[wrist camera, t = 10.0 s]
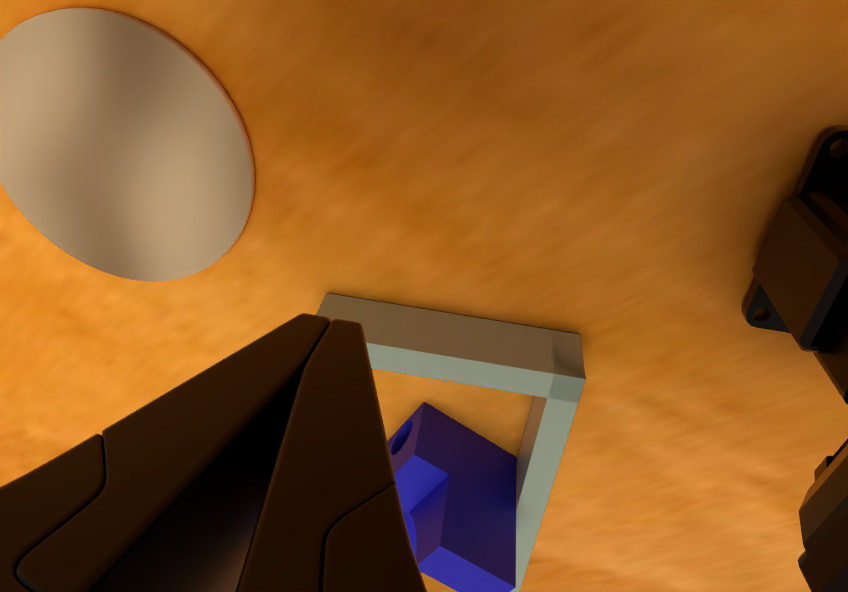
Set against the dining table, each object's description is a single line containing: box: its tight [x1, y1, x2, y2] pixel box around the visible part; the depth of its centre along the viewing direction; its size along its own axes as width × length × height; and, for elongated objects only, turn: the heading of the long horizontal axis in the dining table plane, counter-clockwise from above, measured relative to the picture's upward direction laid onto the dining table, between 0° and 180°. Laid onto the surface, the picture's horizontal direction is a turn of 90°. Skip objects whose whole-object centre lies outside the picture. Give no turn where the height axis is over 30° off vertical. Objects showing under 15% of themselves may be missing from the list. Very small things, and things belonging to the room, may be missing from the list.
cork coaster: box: [0, 7, 255, 281], centre depth 21 cm, size 9×9×1 cm
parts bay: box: [316, 293, 586, 592], centre depth 26 cm, size 9×18×2 cm, turn 174°
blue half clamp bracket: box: [387, 402, 517, 592], centre depth 26 cm, size 12×4×6 cm, turn 146°
